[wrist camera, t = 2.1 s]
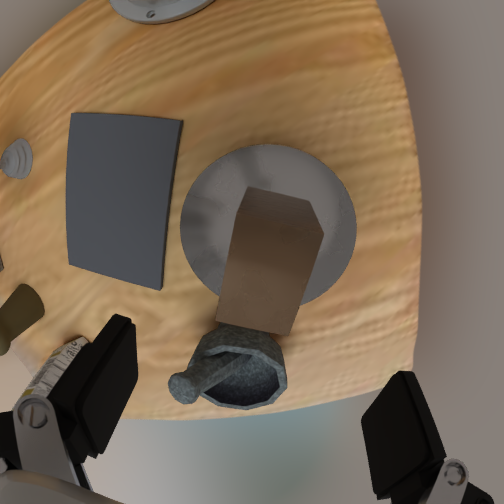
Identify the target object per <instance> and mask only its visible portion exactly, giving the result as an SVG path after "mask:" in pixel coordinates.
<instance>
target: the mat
mask: <svg viewBox="0 0 504 504" xmlns="http://www.w3.org/2000/svg"><path fill="white" fill-rule="evenodd" d="M182 124H183V121H180V120H173V119H164V118H155V117H145V116H133V115H119V114H99V113H71V120H70V129H69V139H68V151H67V167H66V231H67V248H68V260H69V264H70V265H73V266H76V267H79V268H82V269H85V270H89V271H92V272H95V273H99V274H102V275H105V276H109V277H112V278H116V279H119V280H123V281H126V282H130V283H133V284H137V285H140V286H144V287H148V288H152V289H155V290H159V291H160V290H161V289H162V287H163V275H164V261H165V249H166V238H167V229H168V219H169V210H170V202H171V194H172V187H173V179H174V173H175V166H176V159H177V153H178V147H179V141H180V135H181V130H182Z"/></svg>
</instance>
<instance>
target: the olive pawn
mask: <svg viewBox="0 0 504 504" xmlns="http://www.w3.org/2000/svg"><path fill="white" fill-rule="evenodd" d="M44 312H45V310H44V305H43V303H42V300H41V298H40V297H39V295H38V294H37V293H36V292H35V290H34V289H33V288H31V287H30V286H29V285H26V284H21V285H19V286H18V287H17V289H16V290H15V291H14V292H13V293H12V294H11V296H10V297H9V298H8V299H7V301H6V302H5V303H4V304H3V306H2V307H1V308H0V356H2V355H4V354H6V353H7V351H8V350H9V348H10V345H11V341H12V340H14V339H15V338H16V337H17V336H19V335H20V334H21V333H22V332H24V331H25V330H26V329H28V328H29V327H30V326H31V325H33V324H34V323H35V322H37V321H38V320H39V319H41V318H42V317H43V316H44Z"/></svg>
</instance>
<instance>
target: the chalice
mask: <svg viewBox="0 0 504 504" xmlns="http://www.w3.org/2000/svg"><path fill="white" fill-rule="evenodd" d="M31 166H32V151H31V148H30V145H29V144H28V142H27V141H26V140H24V139H17V140H15V142H14V143H13V144H11V145H10V146H9V147H7V148H6V149H5V151H4V152H3V154H2V157H1V161H0V169H2V170H3V172H4V173H5V174H6V175H7V176H8V177H13V178H17V179H24V178H25V177H26V176H27V175H28V174H29V172H30V170H31Z"/></svg>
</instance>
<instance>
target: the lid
mask: <svg viewBox="0 0 504 504" xmlns="http://www.w3.org/2000/svg"><path fill="white" fill-rule="evenodd" d="M356 225H357V224H356V216H355V211H354V207H353V204H352V201H351V199H350V196H349V194H348V192H347V190H346V188H345V187H344V185H343V184H342V182H341V181H340V179H339V178H338V177H337V176H336V175H335V173H334V172H333V171H332V170H330V169H329V168H328V167H327V166H326V165H325V164H324V163H322V162H321V161H319V160H318V159H316V158H315V157H313V156H312V155H310V154H308V153H306V152H304V151H302V150H299V149H296V148H293V147H290V146H285V145H279V144H257V145H251V146H247V147H243V148H240V149H237V150H235V151H232V152H230V153H228V154H226V155H224V156H223V157H221V158H219V159H218V160H216V161H215V162H214V163H212V164H211V165H210V166H208V167H207V168H206V169H205V170H204V171H203V172H202V173H201V174H200V175H199V177H198V178H197V179H196V181H195V182H194V183H193V185H192V187H191V188H190V190H189V192H188V194H187V196H186V199H185V202H184V205H183V208H182V213H181V221H180V233H181V241H182V246H183V250H184V253H185V255H186V258H187V260H188V262H189V264H190V266H191V268H192V270H193V271H194V272H195V274H196V275H197V277H198V278H199V279H200V280H201V281H202V282H203V284H204V285H206V286H207V287H208V288H209V289H210V290H211V291H212V292H214V293H215V294H217V295H218V296H219V303H218V308H217V313H216V319H215V321H219V322H223V323H227V324H232V325H236V326H241V327H245V328H250V329H255V330H260V331H265V332H270V333H275V334H280V335H285V336H289V333H290V330H291V328H292V325H293V322H294V320H295V317H296V314H297V312H298V309H299V306H300V305H303V304H305V303H308V302H310V301H312V300H313V299H315V298H317V297H319V296H320V295H322V294H323V293H324V292H326V291H327V290H328V289H329V288H330V287H331V286H332V285H333V284H334V283H335V282H336V281H337V280H338V279H339V277H340V276H341V275H342V273H343V272H344V270H345V269H346V267H347V265H348V263H349V261H350V259H351V256H352V253H353V250H354V247H355V241H356Z"/></svg>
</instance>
